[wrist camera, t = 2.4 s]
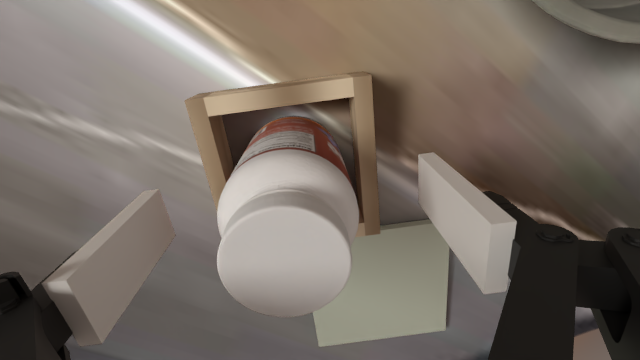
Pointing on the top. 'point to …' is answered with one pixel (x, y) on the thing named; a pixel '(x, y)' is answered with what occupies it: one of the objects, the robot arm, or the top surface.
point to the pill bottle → (287, 221)
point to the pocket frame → (352, 85)
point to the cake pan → (598, 17)
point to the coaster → (390, 287)
